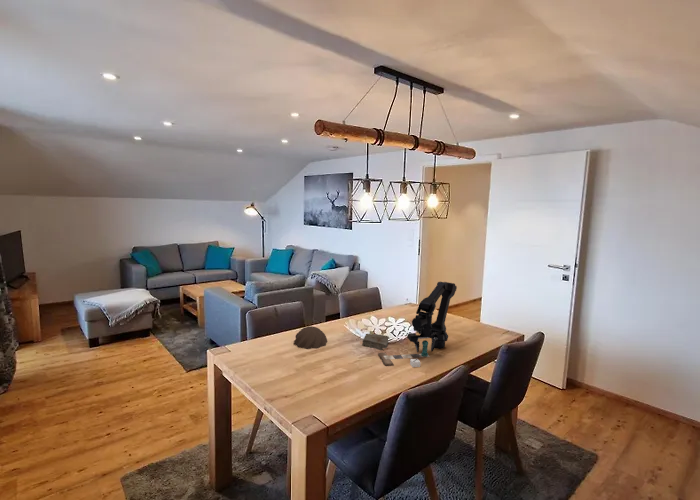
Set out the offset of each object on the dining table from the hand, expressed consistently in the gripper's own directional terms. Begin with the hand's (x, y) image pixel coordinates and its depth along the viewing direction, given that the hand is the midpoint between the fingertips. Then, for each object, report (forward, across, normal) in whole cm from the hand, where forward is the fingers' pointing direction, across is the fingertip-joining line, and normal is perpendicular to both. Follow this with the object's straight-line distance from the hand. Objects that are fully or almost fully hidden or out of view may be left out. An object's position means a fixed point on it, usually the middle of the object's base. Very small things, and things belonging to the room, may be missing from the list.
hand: (424, 351), depth 203 cm
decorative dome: (+4, +59, -29) cm, 66 cm away
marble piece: (+4, +22, -22) cm, 31 cm away
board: (+3, +10, 0) cm, 11 cm away
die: (+3, +10, +11) cm, 15 cm away
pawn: (+2, 0, 0) cm, 2 cm away
